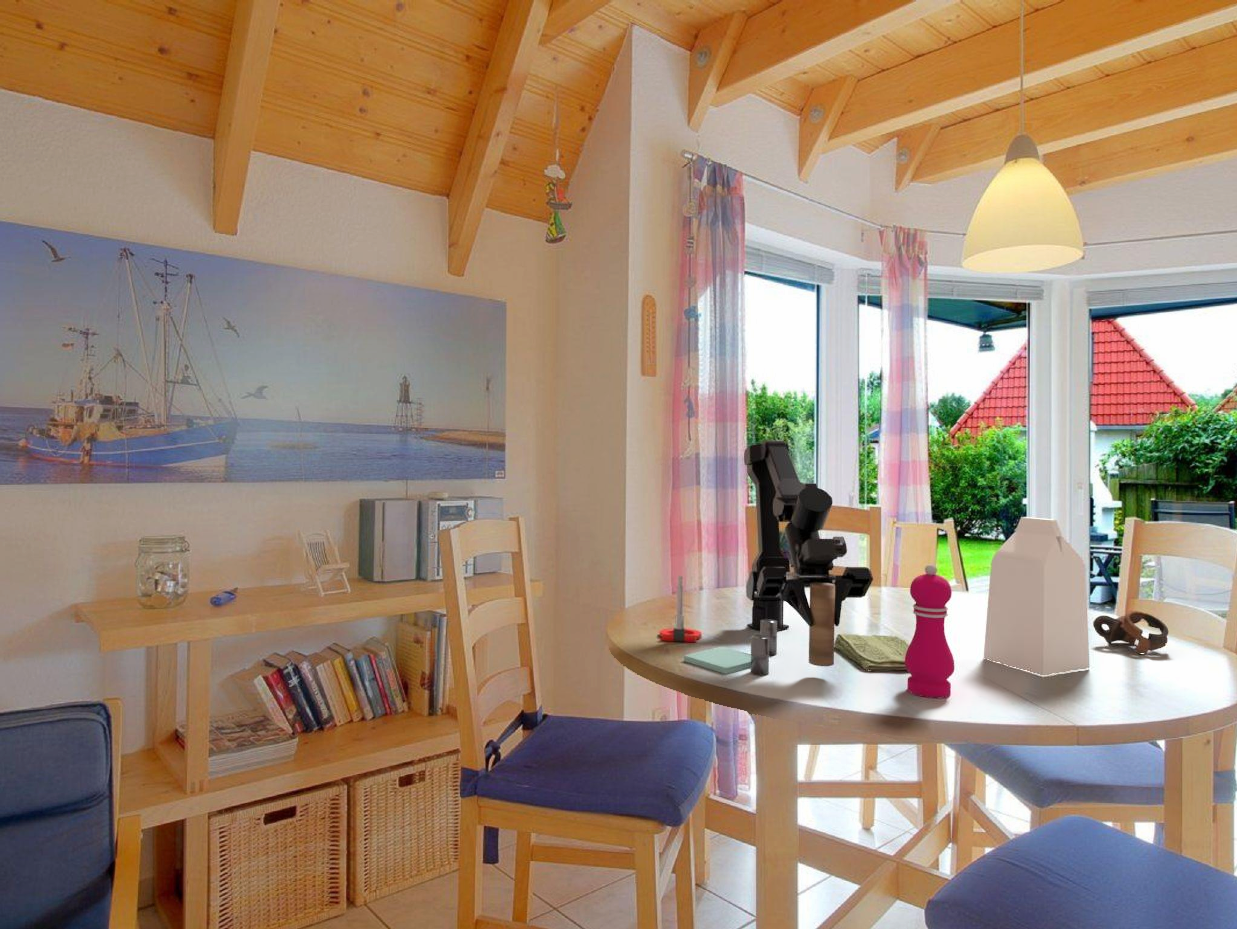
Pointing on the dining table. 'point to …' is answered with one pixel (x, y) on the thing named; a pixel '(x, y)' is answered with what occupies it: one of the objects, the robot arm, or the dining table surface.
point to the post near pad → (759, 655)
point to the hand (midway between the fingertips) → (824, 625)
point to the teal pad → (720, 659)
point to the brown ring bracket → (1132, 630)
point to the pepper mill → (930, 637)
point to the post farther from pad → (770, 634)
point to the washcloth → (874, 651)
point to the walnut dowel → (822, 624)
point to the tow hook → (680, 623)
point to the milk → (1037, 602)
